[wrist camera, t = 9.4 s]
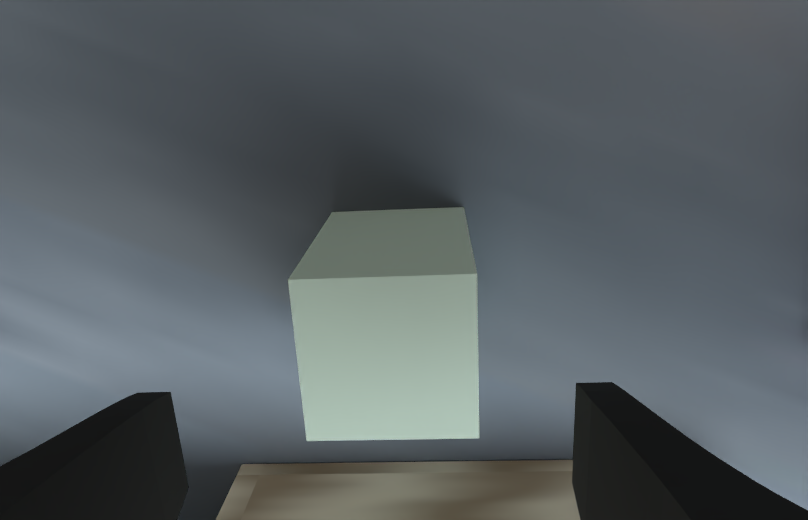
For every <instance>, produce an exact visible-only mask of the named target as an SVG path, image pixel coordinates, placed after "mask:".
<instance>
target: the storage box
mask: <svg viewBox="0 0 808 520" xmlns="http://www.w3.org/2000/svg"><path fill="white" fill-rule="evenodd" d="M572 469H573V460H520V461H445V462H370V463H295V464H242V465H241V467H240V469H239V471H238V473H237V476H236V478H235V480H234V482H233V484H232V486H231V488H230V490H229V493H228V495H227V497H226V499H225V501H224V503H223V505H222V507H221V510H220V512H219V514H218V516H217V518H216V520H580V516H579V511H578V507H577V503H576V498H575V494H574V489H573V485H572Z"/></svg>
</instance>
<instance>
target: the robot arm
mask: <svg viewBox="0 0 808 520" xmlns="http://www.w3.org/2000/svg"><path fill="white" fill-rule="evenodd" d="M572 485H573V489H574V494H575V498H576V503H577V507H578V511H579V516H580V520H808V511H807V510H806V509H804V508H802V507H800V506H798V505H796V504H794V503H793V502H791V501H789V500H787V499H785V498H783V497H782V496H780V495H778V494H776V493H774V492H773V491H771V490H769V489H767V488H766V487H764V486H762V485H761V484H759V483H757V482H755V481H754V480H752V479H751V478H749V477H747V476H746V475H744V474H743V473H741V472H739V471H738V470H736V469H735V468H733V467H732V466H730V465H728V464H727V463H725V462H724V461H722V460H720V459H719V458H717V457H716V456H714V455H713V454H711V453H710V452H708V451H707V450H706V449H704V448H703V447H701V446H700V445H698V444H697V443H695V442H694V441H692V440H691V439H690V438H688V437H687V436H685V435H684V434H683V433H681V432H680V431H678V430H677V429H676V428H674V427H673V426H671V425H670V424H669V423H667V422H666V421H665V420H663V419H662V418H661V417H659V416H658V415H657V414H655V413H654V412H652V411H651V410H650V409H648V408H647V407H646V406H644V405H643V404H642V403H640V402H639V401H638V400H636V399H635V398H634V397H632V396H631V395H630V394H628V393H627V392H626V391H624V390H623V389H621V388H620V387H619V386H617V385H615V384H614V383H612V382H603V383H576V399H575V422H574V446H573V469H572ZM188 488H189V486H188V481H187V476H186V470H185V465H184V460H183V455H182V449H181V444H180V439H179V434H178V428H177V423H176V418H175V413H174V408H173V402H172V397H171V392H150V393H136V394H134V395H131V396H129V397H127V398H125V399H122V400H120V401H118V402H117V403H115V404H113V405H111V406H109V407H107V408H105V409H103V410H101V411H100V412H98V413H96V414H94V415H92V416H91V417H89V418H87V419H85V420H83V421H82V422H80V423H78V424H76V425H75V426H73V427H71V428H69V429H68V430H66V431H64V432H62V433H60V434H59V435H57V436H55V437H53V438H52V439H50V440H48V441H46V442H44V443H43V444H41V445H39V446H37V447H36V448H34V449H32V450H30V451H28V452H27V453H25V454H23V455H21V456H19V457H17V458H15V459H13V460H11V461H10V462H8V463H6V464H4V465H2V466H0V520H177V519H178V516H179V513H180V510H181V508H182V505H183V502H184V499H185V496H186V494H187V491H188Z"/></svg>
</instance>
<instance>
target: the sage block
mask: <svg viewBox="0 0 808 520" xmlns="http://www.w3.org/2000/svg"><path fill="white" fill-rule="evenodd" d="M288 285H289V294H290V302H291V311H292V320H293V328H294V337H295V345H296V354H297V363H298V371H299V380H300V388H301V397H302V406H303V414H304V423H305V431H306V440H307V441H345V440H409V439H472V438H479V374H478V301H477V271H476V266H475V261H474V256H473V251H472V246H471V241H470V236H469V231H468V226H467V221H466V216H465V211H464V207H451V208H425V209H399V210H373V211H347V212H332V213H331V215H330V216H329V218H328V219H327V221H326V222H325V224H324V225H323V227H322V228H321V230H320V231H319V233H318V234H317V236H316V238H315V239H314V241H313V242H312V244H311V245H310V247H309V248H308V250H307V251H306V253H305V254H304V256H303V257H302V259H301V260H300V262H299V264H298V265H297V267H296V268H295V270H294V271H293V273H292V274H291V276H290V277H289V279H288Z"/></svg>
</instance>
